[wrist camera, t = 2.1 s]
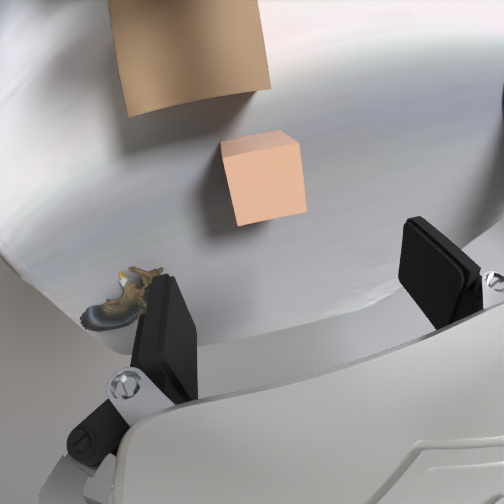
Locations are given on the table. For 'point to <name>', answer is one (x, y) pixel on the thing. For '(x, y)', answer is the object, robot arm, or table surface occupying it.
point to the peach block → (264, 176)
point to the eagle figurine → (121, 304)
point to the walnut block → (187, 50)
